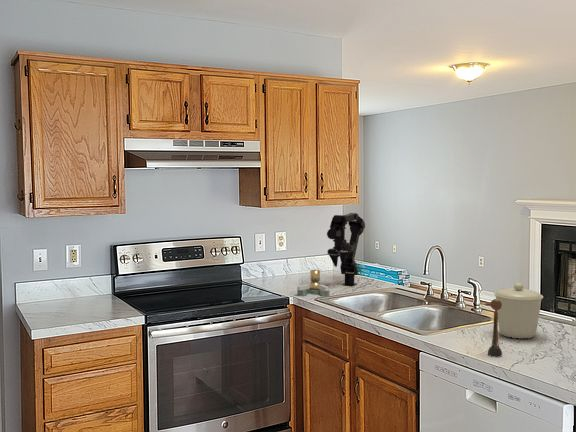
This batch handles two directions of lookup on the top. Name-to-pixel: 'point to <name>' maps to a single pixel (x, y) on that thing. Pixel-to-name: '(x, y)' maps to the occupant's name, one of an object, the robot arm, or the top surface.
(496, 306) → the wooden tabletop sculpture
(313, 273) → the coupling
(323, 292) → the shaft bench
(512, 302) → the canister
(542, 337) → the top surface
